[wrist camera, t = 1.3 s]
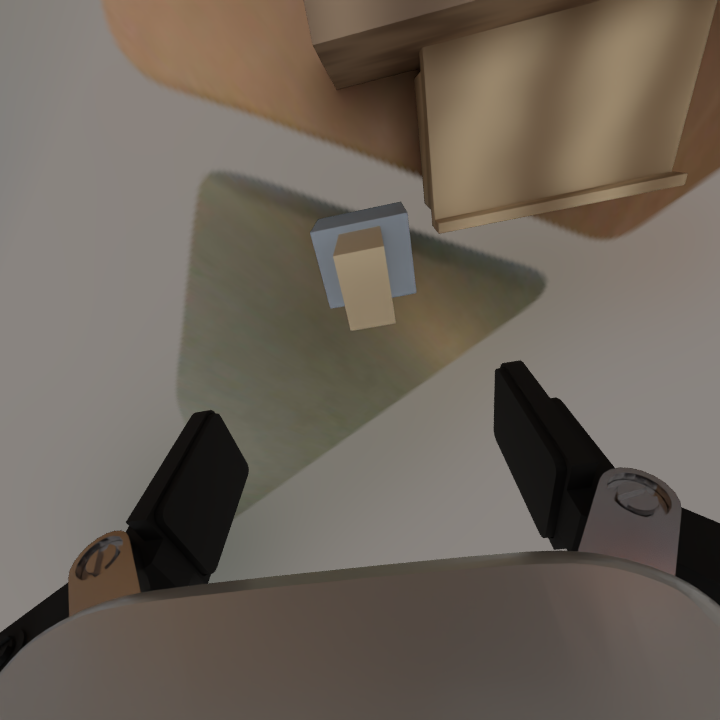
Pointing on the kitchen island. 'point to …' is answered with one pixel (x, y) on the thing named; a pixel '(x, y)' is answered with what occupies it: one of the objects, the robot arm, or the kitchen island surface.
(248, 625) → the robot arm
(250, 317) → the kitchen island surface
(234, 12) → the kitchen island surface
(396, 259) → the stacked toy blocks
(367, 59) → the wooden toy bench
